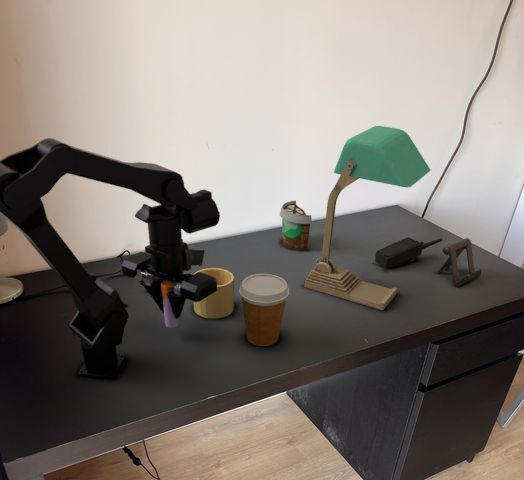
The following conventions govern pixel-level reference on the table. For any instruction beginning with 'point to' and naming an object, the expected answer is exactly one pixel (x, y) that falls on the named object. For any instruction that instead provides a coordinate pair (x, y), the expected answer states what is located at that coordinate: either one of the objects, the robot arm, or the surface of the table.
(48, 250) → the robot arm
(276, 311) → the disposable coffee cup
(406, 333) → the table surface
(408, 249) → the walkie-talkie
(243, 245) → the table surface
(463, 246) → the tablet stand
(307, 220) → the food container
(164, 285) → the glue stick
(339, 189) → the banker's lamp
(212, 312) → the pen pot
